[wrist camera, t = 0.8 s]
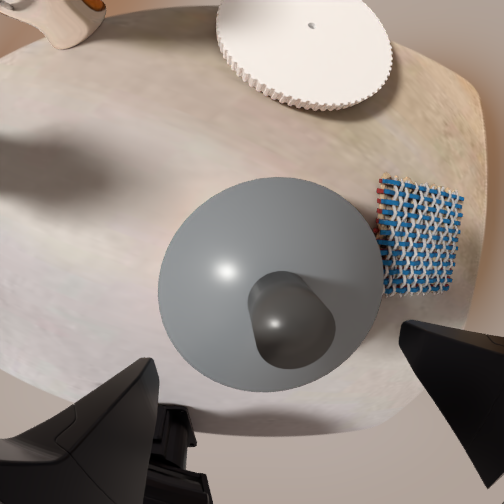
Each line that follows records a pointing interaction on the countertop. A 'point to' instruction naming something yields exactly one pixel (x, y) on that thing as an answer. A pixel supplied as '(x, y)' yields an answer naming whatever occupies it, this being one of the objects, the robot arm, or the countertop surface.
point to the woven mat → (417, 236)
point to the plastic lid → (306, 50)
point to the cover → (270, 284)
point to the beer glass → (58, 18)
